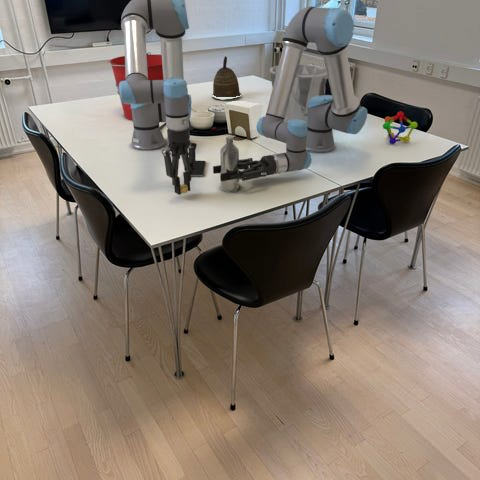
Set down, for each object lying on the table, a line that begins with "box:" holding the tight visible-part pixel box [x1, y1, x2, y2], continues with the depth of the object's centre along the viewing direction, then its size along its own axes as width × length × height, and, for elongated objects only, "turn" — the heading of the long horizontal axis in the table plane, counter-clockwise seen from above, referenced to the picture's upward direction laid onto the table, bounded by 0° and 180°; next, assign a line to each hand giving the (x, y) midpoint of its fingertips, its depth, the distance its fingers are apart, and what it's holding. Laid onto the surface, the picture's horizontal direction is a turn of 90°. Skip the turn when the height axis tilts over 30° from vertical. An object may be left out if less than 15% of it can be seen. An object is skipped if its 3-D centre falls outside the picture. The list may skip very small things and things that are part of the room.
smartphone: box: [191, 160, 207, 177], centre depth 182 cm, size 7×1×15 cm
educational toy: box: [382, 110, 418, 145], centre depth 207 cm, size 16×13×15 cm
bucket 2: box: [269, 63, 328, 123], centre depth 226 cm, size 30×30×28 cm
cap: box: [180, 183, 189, 194], centre depth 160 cm, size 4×4×2 cm
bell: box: [212, 56, 242, 97], centre depth 278 cm, size 19×26×20 cm
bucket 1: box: [106, 51, 164, 121], centre depth 240 cm, size 35×35×30 cm
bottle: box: [219, 135, 240, 193], centre depth 162 cm, size 7×7×20 cm
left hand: (182, 191), depth 160 cm, fingers closed on cap, 4 cm apart
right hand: (217, 173), depth 162 cm, fingers closed on bottle, 7 cm apart
